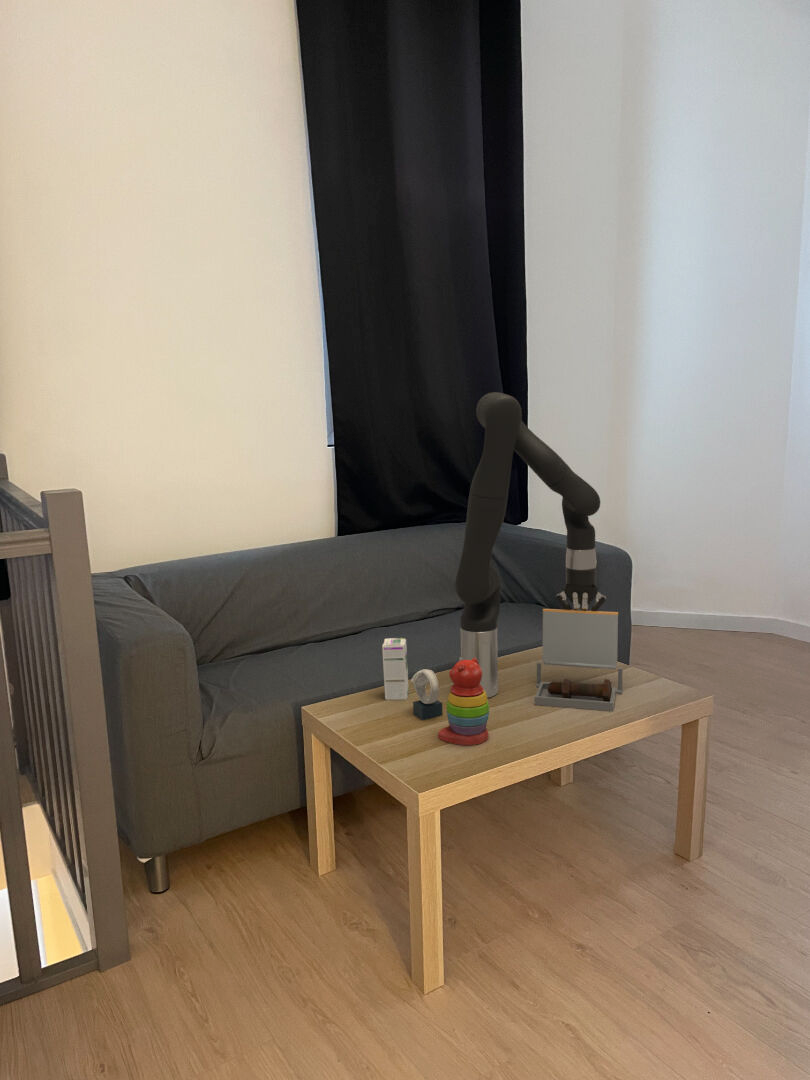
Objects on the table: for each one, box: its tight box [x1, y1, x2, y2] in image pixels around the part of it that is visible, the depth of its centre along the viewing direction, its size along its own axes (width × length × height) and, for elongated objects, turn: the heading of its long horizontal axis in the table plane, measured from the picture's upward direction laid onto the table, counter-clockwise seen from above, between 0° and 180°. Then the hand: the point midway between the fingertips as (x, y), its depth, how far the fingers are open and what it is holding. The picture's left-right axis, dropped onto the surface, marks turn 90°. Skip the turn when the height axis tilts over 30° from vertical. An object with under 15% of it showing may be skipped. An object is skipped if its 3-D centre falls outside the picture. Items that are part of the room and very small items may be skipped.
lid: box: [542, 608, 619, 670], centre depth 210 cm, size 19×14×1 cm
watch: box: [410, 668, 443, 721], centre depth 197 cm, size 6×8×11 cm
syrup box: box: [381, 637, 410, 701], centre depth 209 cm, size 6×6×14 cm
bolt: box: [548, 678, 613, 702], centre depth 203 cm, size 6×5×15 cm
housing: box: [533, 661, 623, 712], centre depth 205 cm, size 21×15×6 cm
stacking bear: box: [437, 658, 490, 746], centre depth 183 cm, size 11×10×18 cm
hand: (580, 630), depth 212 cm, fingers closed
